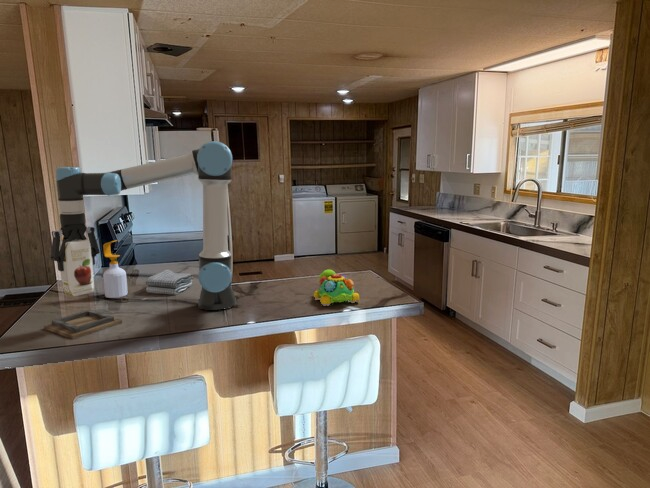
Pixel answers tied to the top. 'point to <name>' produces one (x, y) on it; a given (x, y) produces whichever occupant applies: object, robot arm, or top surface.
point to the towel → (169, 282)
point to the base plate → (82, 324)
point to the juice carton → (78, 268)
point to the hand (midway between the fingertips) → (78, 277)
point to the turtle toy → (335, 288)
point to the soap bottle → (114, 276)
